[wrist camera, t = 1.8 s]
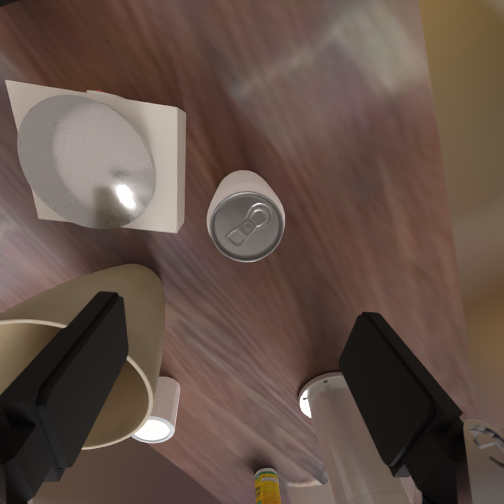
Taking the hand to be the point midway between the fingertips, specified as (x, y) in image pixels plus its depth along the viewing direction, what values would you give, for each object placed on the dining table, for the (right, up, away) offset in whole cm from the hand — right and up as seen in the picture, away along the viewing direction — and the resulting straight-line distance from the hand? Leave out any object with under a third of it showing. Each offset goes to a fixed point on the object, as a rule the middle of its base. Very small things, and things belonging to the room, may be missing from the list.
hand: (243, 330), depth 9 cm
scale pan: (-14, +11, +13) cm, 22 cm away
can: (-1, +10, +19) cm, 22 cm away
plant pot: (-16, -1, +23) cm, 28 cm away
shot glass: (-15, -21, +32) cm, 41 cm away
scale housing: (-14, +13, +17) cm, 26 cm away
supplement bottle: (+4, -49, +46) cm, 68 cm away
